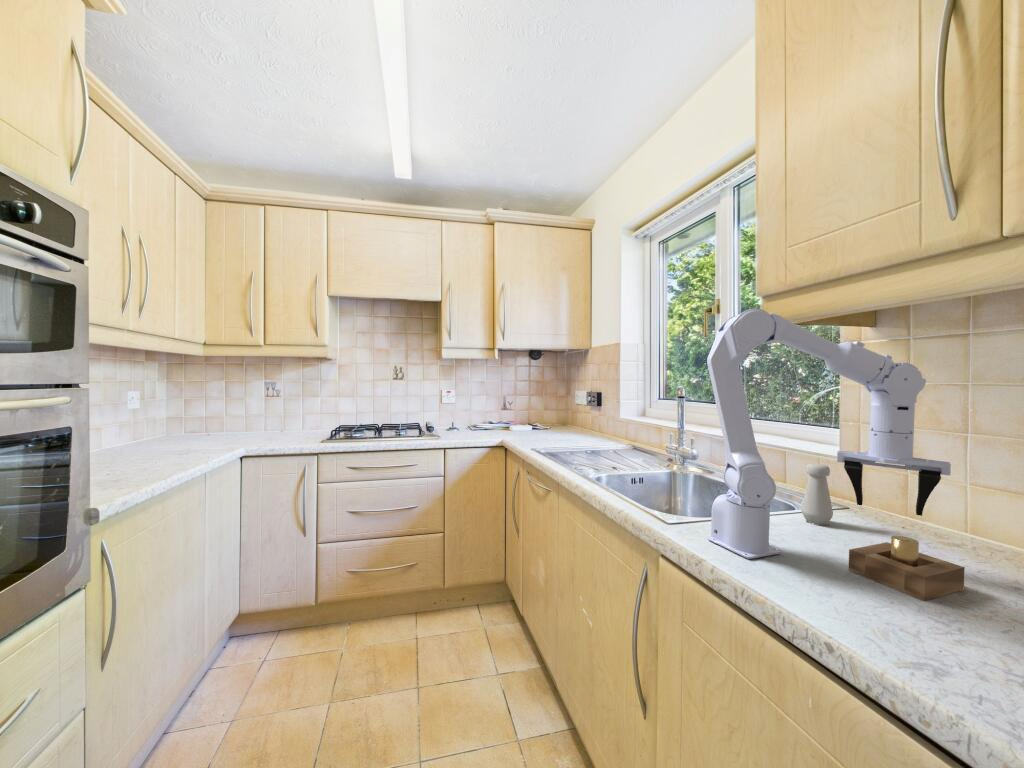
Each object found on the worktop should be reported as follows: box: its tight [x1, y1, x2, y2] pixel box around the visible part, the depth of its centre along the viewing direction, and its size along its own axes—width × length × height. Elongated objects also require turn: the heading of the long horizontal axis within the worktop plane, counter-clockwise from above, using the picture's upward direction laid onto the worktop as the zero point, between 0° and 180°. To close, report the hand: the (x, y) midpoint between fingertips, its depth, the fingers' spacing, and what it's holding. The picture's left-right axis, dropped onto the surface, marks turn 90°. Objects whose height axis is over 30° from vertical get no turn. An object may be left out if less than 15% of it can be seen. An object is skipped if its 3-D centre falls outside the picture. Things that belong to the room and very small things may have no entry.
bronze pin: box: [890, 535, 920, 567], centre depth 67 cm, size 3×3×6 cm
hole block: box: [848, 541, 966, 602], centre depth 67 cm, size 10×10×4 cm
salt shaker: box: [800, 462, 834, 526], centre depth 93 cm, size 6×6×13 cm
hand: (888, 508), depth 73 cm, fingers open, 7 cm apart
